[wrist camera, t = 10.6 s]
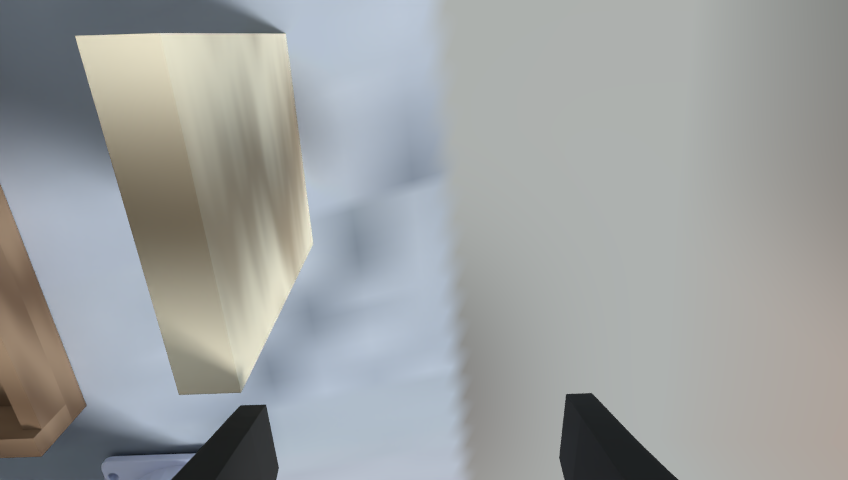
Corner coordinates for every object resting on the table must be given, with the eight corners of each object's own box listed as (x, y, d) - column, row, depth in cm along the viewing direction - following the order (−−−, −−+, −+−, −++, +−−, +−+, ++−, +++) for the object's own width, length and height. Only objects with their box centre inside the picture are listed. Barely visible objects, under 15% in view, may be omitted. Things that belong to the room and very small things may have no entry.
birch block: (313, 243, 20) (240, 392, 12) (277, 245, 20) (179, 395, 12) (285, 33, 17) (159, 32, 9) (242, 35, 17) (75, 36, 9)
